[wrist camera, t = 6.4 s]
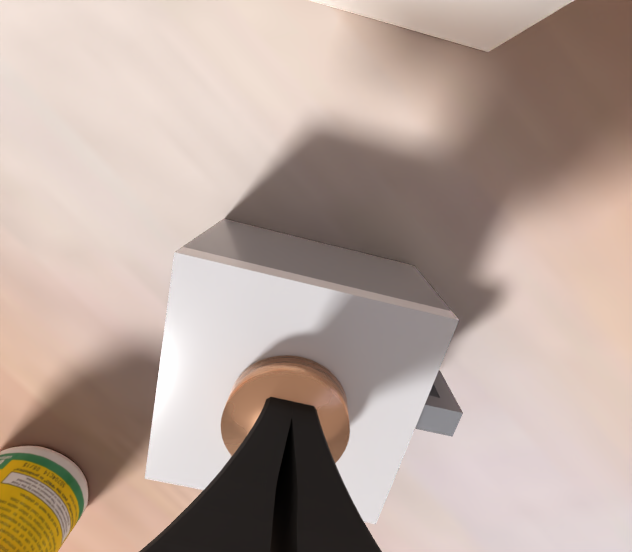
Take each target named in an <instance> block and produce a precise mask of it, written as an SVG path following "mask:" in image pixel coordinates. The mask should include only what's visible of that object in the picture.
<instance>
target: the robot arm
mask: <svg viewBox="0 0 632 552" xmlns="http://www.w3.org/2000/svg"><path fill="white" fill-rule="evenodd" d="M140 552H382V551H381V550H380V548H379V547H378V545H377V543H376V542H375V540H374V539H373V537H372V535H371V533H370V532H369V530H368V528H367V527H366V525H365V523H364V521H363V520H362V518H361V516H360V514H359V512H358V510H357V508H356V506H355V505H354V503H353V501H352V499H351V497H350V495H349V492H348V490H347V488H346V486H345V484H344V482H343V480H342V478H341V476H340V473H339V471H338V469H337V466H336V464H335V461H334V459H333V457H332V454H331V452H330V449H329V447H328V444H327V441H326V438H325V436H324V433H323V430H322V427H321V424H320V421H319V417H318V414H317V410H316V408H315V407H314V406H312V405H307V404H303V403H298V402H293V401H288V400H284V399H279V398H275V397H269V398H267V399H266V401H265V404H264V407H263V409H262V411H261V413H260V415H259V417H258V419H257V420H256V422H255V424H254V425H253V427H252V429H251V430H250V432H249V433H248V435H247V436H246V438H245V439H244V440H243V442H242V443H241V445H240V446H239V448H238V449H237V450H236V452H235V453H234V454H233V456H232V457H231V458H230V459H229V461H228V462H227V463H226V464H225V466H224V467H223V468H222V470H221V471H220V472H219V473H218V474H217V476H216V477H215V478H214V479H213V480H212V481H211V483H210V484H209V485H208V486H207V487H206V488H205V489H204V490H203V491H202V492H201V494H200V495H199V496H198V497H197V498H196V499H195V500H194V501H193V502H192V503H191V504H190V505H189V506H188V507H187V508H186V509H185V510H184V511H183V512H182V513H181V514H180V515H179V516H178V517H177V518H176V519H175V520H174V521H173V522H172V523H171V524H170V525H169V526H168V527H167V528H166V529H165V530H164V531H162V532H161V533H160V534H159V535H158V536H157V537H156V538H155V539H154V540H152V541H151V542H150V543H149V544H148V545H147V546H145V547H144V548H143V549H142V550H141V551H140Z"/></svg>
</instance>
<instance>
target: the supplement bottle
mask: <svg viewBox="0 0 632 552" xmlns="http://www.w3.org/2000/svg"><path fill="white" fill-rule="evenodd" d="M87 503H88V486H87V481H86V479H85V477H84V475H83V473H82V471H81V470H80V468H79V467H78V466H77V465H76V464H75V463H74V462H73V461H71V460H70V459H69V458H67V457H65V456H64V455H62V454H60V453H58V452H56V451H53V450H51V449H48V448H44V447H40V446H18V447H12V448H8V449H5V450H3V451H1V452H0V552H58V550H59V549H60V547H61V546H62V544H63V543H64V541H65V540H66V538H67V537H68V535H69V534H70V532H71V531H72V529H73V528H74V526H75V525H76V523H77V522H78V520H79V519H80V517H81V515H82V514H83V512H84V510H85V508H86V506H87Z"/></svg>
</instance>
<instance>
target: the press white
mask: <svg viewBox="0 0 632 552" xmlns="http://www.w3.org/2000/svg"><path fill="white" fill-rule="evenodd" d="M309 1H313V2H316V3H320V4H323V5H327V6H330V7H333V8H337V9H340V10H344V11H347V12H351V13H354V14H358V15H361V16H365V17H368V18H372V19H375V20H378V21H382V22H385V23H389V24H392V25H396V26H399V27H403V28H406V29H410V30H413V31H417V32H420V33H423V34H427V35H430V36H434V37H437V38H441V39H444V40H448V41H451V42H455V43H458V44H462V45H465V46H468V47H472V48H475V49H479V50H482V51H486V52H489V51H491V50H493V49H494V48H496V47H498V46H499V45H501V44H503V43H504V42H506V41H508V40H509V39H511V38H513V37H514V36H516V35H518V34H519V33H521V32H523V31H524V30H526V29H528V28H529V27H531V26H533V25H534V24H536V23H538V22H539V21H541V20H543V19H544V18H546V17H548V16H549V15H551V14H552V13H554V12H556V11H557V10H559V9H561V8H562V7H564V6H566V5H567V4H569V3H571V2H572V1H574V0H309Z"/></svg>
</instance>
